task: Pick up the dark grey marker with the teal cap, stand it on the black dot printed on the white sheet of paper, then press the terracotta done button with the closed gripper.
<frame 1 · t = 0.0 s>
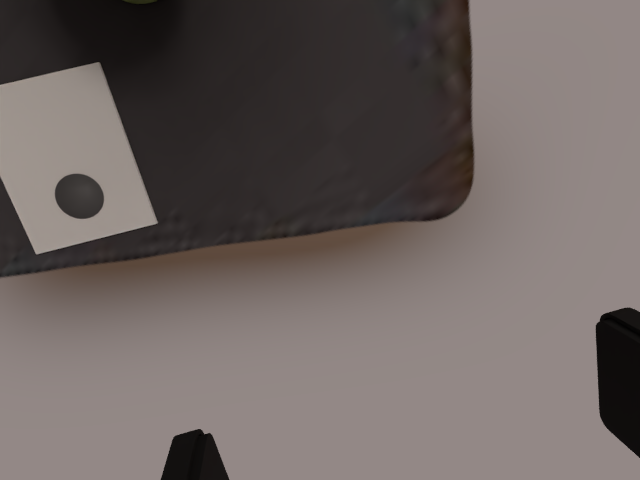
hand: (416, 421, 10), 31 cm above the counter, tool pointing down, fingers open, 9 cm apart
paper: (67, 162, 36), on the counter
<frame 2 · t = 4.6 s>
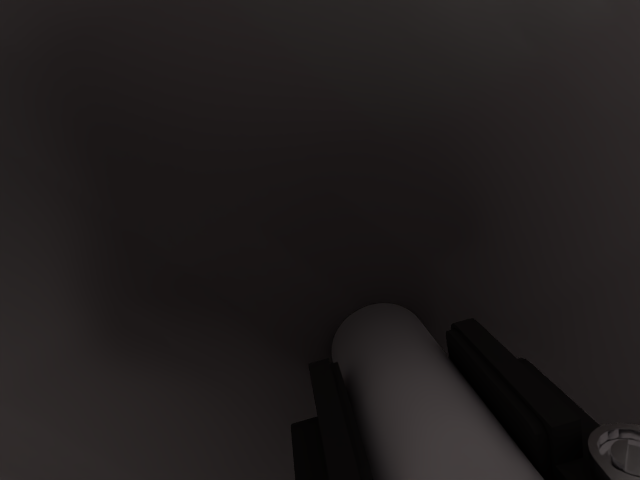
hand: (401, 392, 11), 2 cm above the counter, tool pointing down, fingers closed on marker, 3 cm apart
marker: (379, 347, 13), on the counter, touching gripper
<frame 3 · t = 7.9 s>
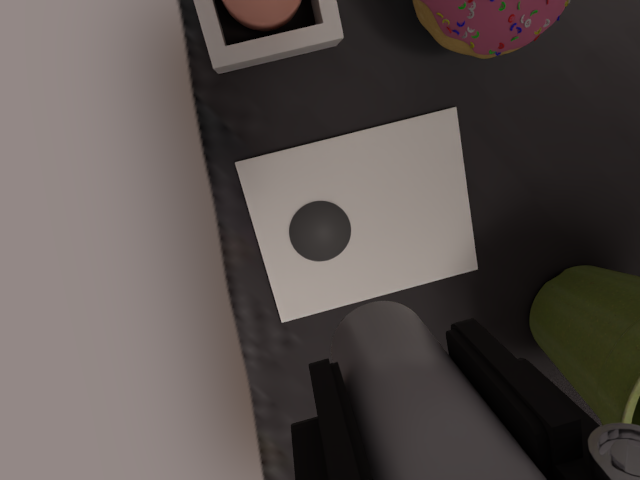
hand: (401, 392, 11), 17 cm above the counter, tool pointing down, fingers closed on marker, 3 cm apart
plant pot: (571, 309, 32), on the counter
marker: (379, 346, 13), point 15 cm above the counter, touching gripper
paper: (364, 218, 27), on the counter
when the fingers open (3 cm above the counter, at t = 11.3 s): marker stays where it is, resting on paper.
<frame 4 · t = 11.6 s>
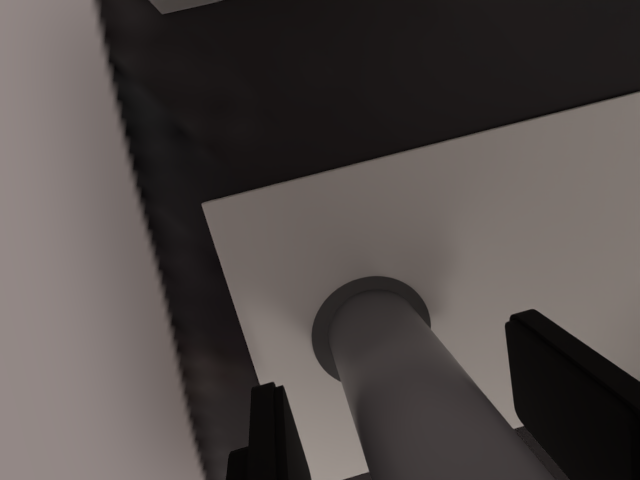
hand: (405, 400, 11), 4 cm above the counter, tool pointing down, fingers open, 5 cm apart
marker: (373, 331, 14), resting on paper
paper: (453, 305, 14), on the counter
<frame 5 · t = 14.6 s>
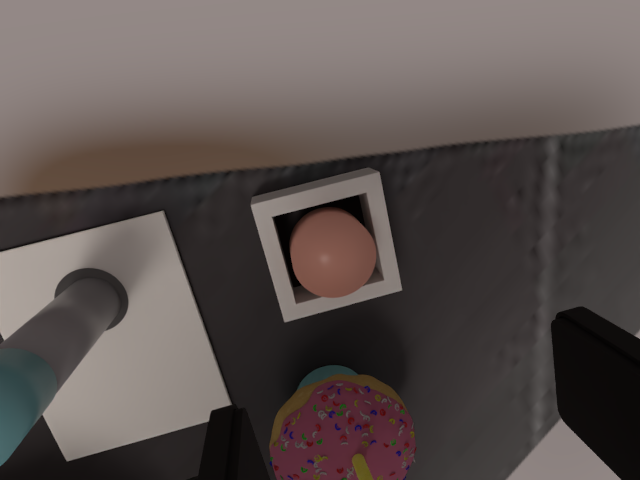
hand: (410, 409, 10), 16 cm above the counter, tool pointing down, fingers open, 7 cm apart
button housing: (324, 238, 25), on the counter
marker: (93, 301, 24), resting on paper
cupcake: (331, 394, 29), on the counter
done button: (331, 251, 23), point 3 cm above the counter, slide at 0.0 cm
paper: (113, 342, 26), on the counter
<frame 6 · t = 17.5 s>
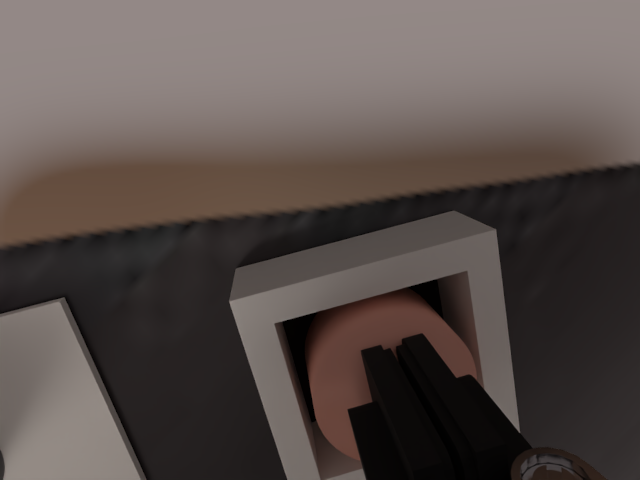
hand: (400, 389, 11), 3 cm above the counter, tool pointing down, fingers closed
button housing: (368, 337, 14), on the counter
done button: (384, 368, 12), point 2 cm above the counter, slide at 0.9 cm, touching gripper
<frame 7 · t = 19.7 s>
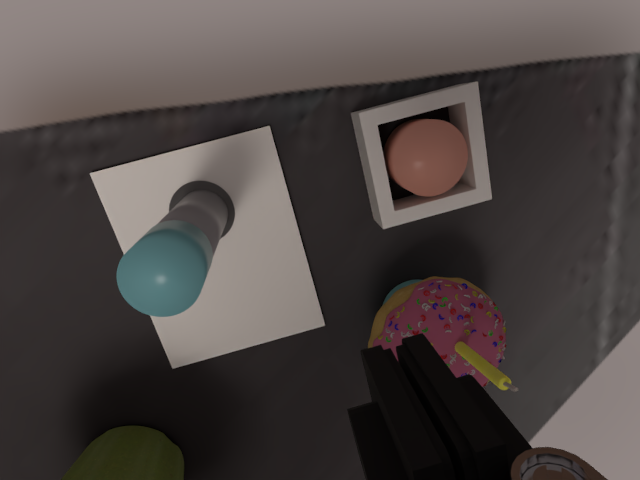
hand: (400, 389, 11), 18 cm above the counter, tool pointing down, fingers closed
plant pot: (135, 461, 32), on the counter
button housing: (414, 154, 27), on the counter
marker: (203, 213, 26), resting on paper
cupcake: (413, 309, 31), on the counter
done button: (423, 156, 25), point 2 cm above the counter, slide at 1.1 cm
paper: (218, 254, 27), on the counter
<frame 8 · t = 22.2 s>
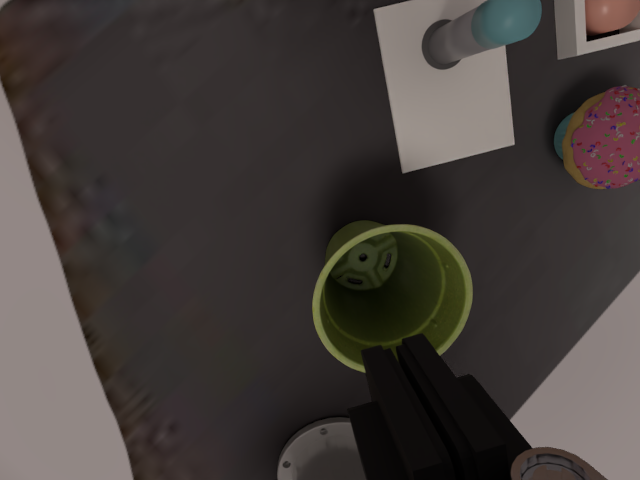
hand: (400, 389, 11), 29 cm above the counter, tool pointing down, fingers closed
plant pot: (360, 256, 41), on the counter
button housing: (591, 9, 37), on the counter
marker: (445, 45, 36), resting on paper
cupcake: (575, 138, 41), on the counter
done button: (606, 4, 36), point 2 cm above the counter, slide at 1.1 cm
paper: (447, 81, 38), on the counter
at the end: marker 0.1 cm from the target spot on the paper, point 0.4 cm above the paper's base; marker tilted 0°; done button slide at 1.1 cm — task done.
